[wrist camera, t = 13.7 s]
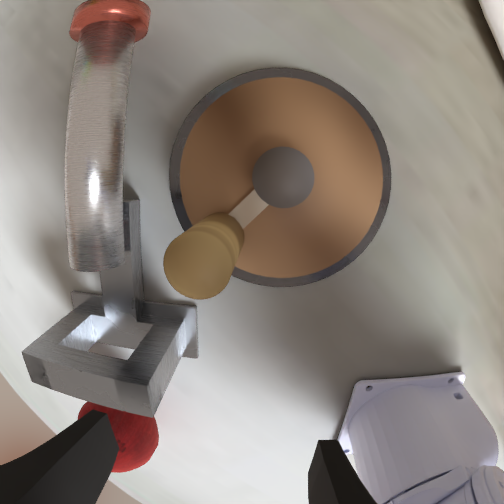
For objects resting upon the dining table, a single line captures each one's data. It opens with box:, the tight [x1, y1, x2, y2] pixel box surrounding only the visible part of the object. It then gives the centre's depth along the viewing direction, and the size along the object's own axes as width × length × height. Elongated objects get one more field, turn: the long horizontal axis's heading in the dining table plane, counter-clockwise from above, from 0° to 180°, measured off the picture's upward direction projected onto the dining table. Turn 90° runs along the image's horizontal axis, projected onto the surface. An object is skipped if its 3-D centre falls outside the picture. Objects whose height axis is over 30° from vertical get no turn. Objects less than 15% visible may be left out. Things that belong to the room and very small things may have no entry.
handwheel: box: [163, 77, 383, 299], centre depth 13 cm, size 10×10×6 cm
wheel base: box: [169, 68, 391, 287], centre depth 16 cm, size 12×12×1 cm
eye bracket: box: [22, 199, 198, 418], centre depth 15 cm, size 9×10×7 cm
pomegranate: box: [78, 402, 159, 472], centre depth 17 cm, size 6×6×8 cm
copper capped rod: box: [65, 0, 151, 272], centre depth 13 cm, size 4×13×4 cm, turn 178°
